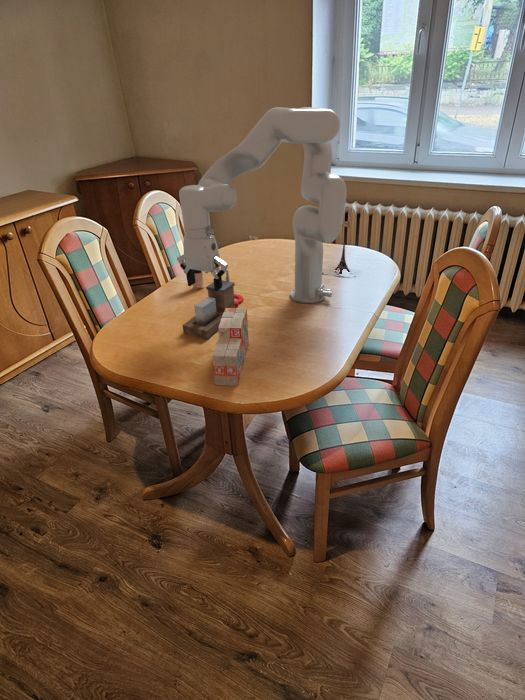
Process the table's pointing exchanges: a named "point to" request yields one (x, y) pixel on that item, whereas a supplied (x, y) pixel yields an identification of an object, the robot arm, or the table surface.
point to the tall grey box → (205, 311)
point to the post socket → (223, 301)
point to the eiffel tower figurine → (342, 262)
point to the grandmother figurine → (198, 280)
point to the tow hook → (235, 294)
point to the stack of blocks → (231, 346)
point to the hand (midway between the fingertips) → (205, 286)
